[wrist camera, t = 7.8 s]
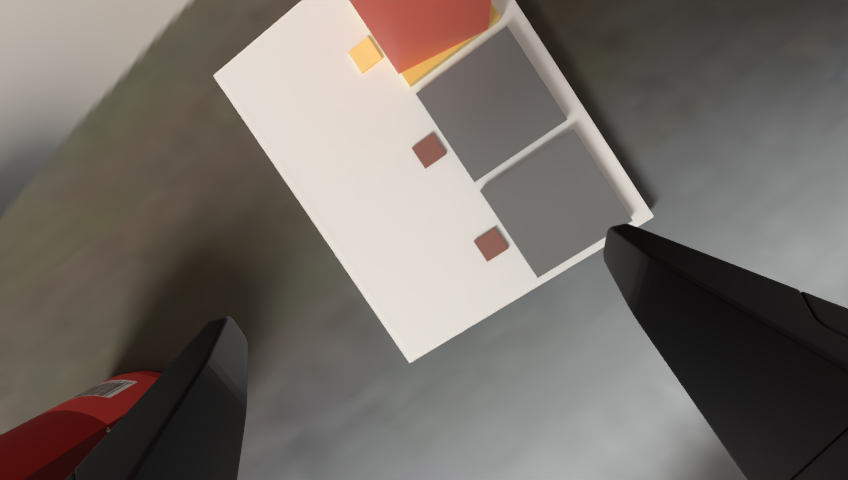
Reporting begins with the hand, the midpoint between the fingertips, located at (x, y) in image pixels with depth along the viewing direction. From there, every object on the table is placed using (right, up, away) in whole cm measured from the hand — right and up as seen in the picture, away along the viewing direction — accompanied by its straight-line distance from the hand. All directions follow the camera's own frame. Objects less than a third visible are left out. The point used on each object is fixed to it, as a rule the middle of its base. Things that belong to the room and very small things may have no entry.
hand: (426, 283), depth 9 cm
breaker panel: (0, +6, +11) cm, 12 cm away
